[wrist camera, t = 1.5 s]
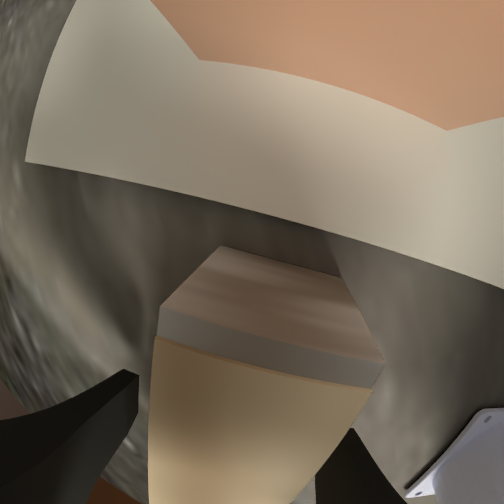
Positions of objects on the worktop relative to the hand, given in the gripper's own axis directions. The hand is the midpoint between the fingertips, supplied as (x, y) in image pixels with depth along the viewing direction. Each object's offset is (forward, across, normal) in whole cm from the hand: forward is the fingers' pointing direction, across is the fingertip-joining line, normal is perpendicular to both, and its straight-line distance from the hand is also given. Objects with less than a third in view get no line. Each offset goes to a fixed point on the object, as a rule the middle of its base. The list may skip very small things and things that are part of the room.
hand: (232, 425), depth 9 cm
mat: (+2, 0, -15) cm, 15 cm away
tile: (-3, 0, -12) cm, 12 cm away
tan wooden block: (+2, 0, 0) cm, 2 cm away
